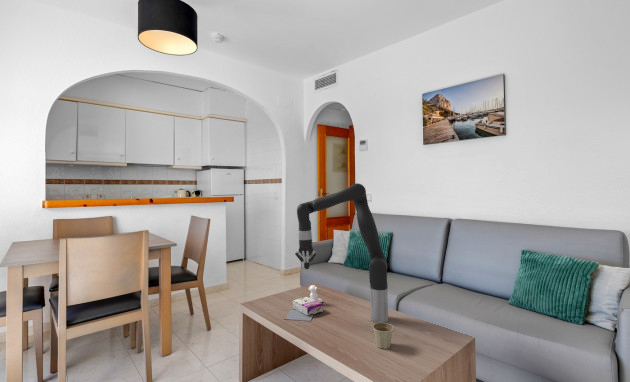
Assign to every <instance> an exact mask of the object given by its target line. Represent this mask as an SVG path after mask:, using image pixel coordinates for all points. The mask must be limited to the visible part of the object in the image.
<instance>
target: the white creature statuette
mask: <svg viewBox="0 0 630 382" xmlns="http://www.w3.org/2000/svg"><path fill="white" fill-rule="evenodd" d="M307 289H308V291H310V294H309V298H311V299H314V300H316V301H318V302H320V303H323V299H322V298H318V297H319V296H318V292H317V290H318V287H317V285H314V284H311V285H310V286H309V287H307Z"/></svg>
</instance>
